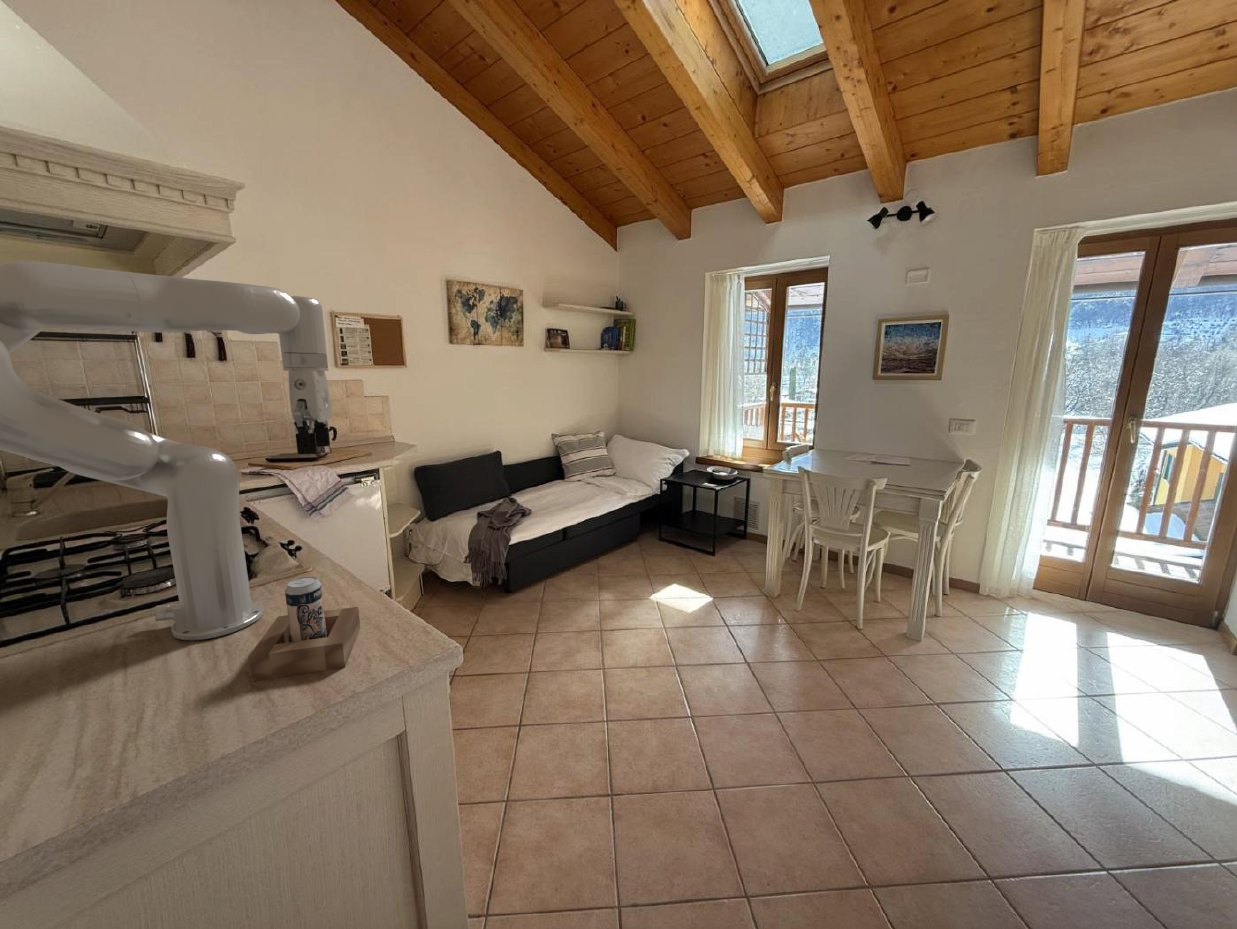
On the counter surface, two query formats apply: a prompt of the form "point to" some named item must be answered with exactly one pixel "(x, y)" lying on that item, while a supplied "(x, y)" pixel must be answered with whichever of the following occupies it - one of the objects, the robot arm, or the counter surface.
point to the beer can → (305, 609)
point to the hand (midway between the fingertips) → (314, 449)
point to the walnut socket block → (305, 647)
